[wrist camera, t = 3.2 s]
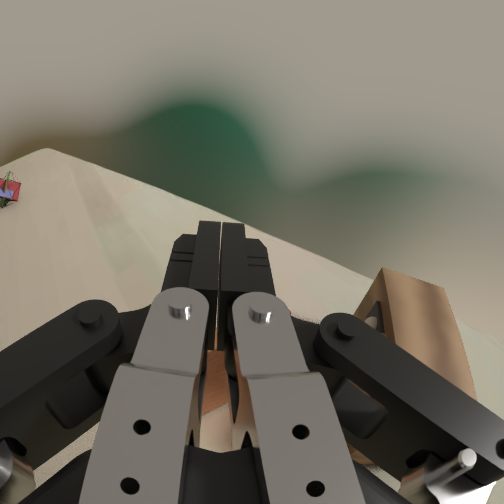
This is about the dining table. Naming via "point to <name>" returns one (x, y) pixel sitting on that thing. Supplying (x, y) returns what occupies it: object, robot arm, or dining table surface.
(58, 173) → the dining table surface
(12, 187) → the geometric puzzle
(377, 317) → the wooden box
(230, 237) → the robot arm
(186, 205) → the dining table surface
